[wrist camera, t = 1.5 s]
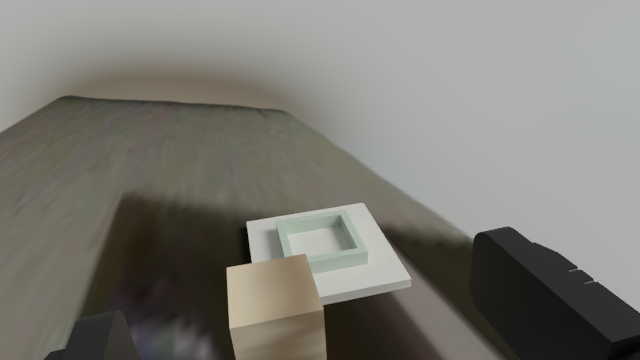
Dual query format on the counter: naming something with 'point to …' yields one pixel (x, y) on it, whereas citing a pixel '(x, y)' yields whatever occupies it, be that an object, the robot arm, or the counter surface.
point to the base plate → (333, 250)
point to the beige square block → (275, 311)
